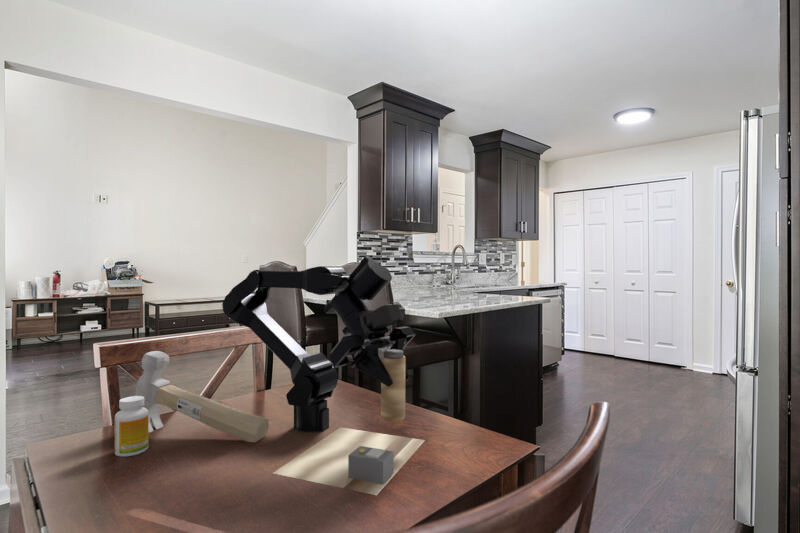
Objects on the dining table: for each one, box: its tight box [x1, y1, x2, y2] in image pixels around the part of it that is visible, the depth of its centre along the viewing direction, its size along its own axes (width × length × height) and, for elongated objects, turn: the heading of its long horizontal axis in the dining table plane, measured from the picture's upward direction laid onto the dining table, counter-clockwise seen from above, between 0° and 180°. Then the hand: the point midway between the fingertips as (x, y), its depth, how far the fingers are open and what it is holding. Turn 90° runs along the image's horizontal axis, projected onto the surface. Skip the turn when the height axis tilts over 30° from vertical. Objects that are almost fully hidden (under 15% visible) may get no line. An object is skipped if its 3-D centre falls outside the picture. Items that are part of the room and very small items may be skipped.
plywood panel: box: [272, 426, 426, 496], centre depth 77 cm, size 18×22×1 cm
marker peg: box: [380, 349, 406, 422], centre depth 80 cm, size 4×4×12 cm
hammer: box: [134, 350, 270, 443], centre depth 89 cm, size 16×5×30 cm
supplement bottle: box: [114, 395, 150, 458], centre depth 81 cm, size 5×5×10 cm
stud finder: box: [348, 446, 393, 484], centre depth 70 cm, size 6×4×4 cm, turn 68°
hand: (399, 382), depth 79 cm, fingers closed on marker peg, 4 cm apart
